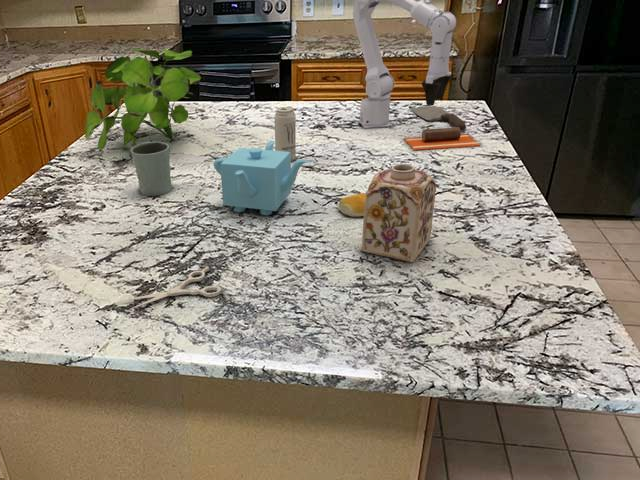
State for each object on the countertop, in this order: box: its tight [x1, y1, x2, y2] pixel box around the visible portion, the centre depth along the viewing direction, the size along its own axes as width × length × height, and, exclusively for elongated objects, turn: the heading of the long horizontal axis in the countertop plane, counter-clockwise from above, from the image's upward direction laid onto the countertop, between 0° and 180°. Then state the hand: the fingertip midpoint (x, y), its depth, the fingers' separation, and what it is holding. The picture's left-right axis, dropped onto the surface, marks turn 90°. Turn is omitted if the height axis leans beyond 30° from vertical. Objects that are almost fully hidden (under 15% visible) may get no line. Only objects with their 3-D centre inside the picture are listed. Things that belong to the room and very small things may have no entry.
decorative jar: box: [361, 163, 437, 263], centre depth 127 cm, size 12×12×18 cm
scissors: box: [121, 266, 222, 311], centre depth 119 cm, size 11×1×20 cm
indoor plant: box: [84, 48, 202, 151], centre depth 196 cm, size 44×42×30 cm
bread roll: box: [338, 192, 366, 218], centre depth 148 cm, size 8×9×4 cm
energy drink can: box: [274, 106, 297, 162], centre depth 178 cm, size 6×6×15 cm
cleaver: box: [411, 105, 467, 131], centre depth 207 cm, size 29×10×2 cm, turn 9°
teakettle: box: [213, 140, 310, 216], centre depth 150 cm, size 19×19×15 cm
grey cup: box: [130, 141, 172, 197], centre depth 164 cm, size 10×10×12 cm
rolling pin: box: [421, 127, 462, 142], centre depth 187 cm, size 11×4×4 cm, turn 94°
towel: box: [403, 133, 481, 152], centre depth 187 cm, size 20×11×1 cm, turn 93°
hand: (434, 102), depth 192 cm, fingers open, 7 cm apart
